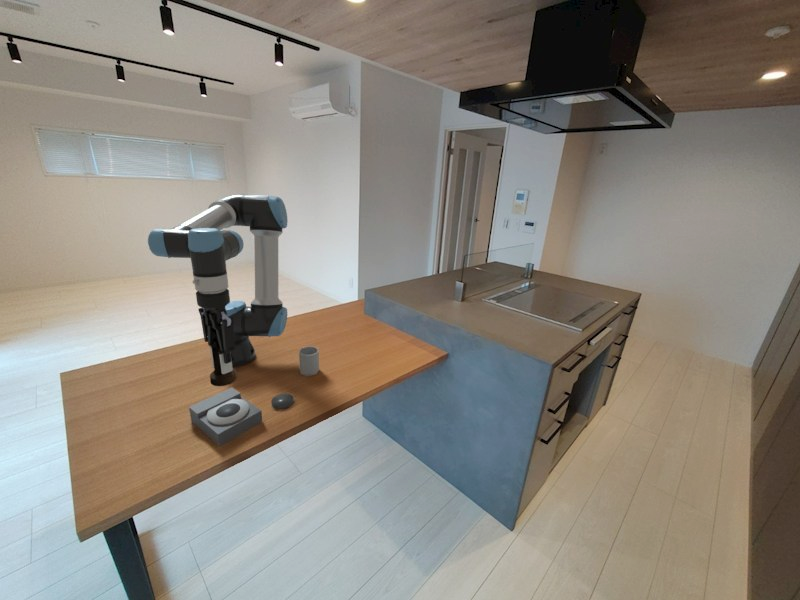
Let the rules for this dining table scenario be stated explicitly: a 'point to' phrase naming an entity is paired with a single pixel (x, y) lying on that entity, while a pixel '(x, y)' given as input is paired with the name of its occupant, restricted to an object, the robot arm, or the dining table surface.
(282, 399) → the dark grey dome
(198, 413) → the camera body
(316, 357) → the cup
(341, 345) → the dining table surface
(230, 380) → the brown wooden pepper mill
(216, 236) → the robot arm
